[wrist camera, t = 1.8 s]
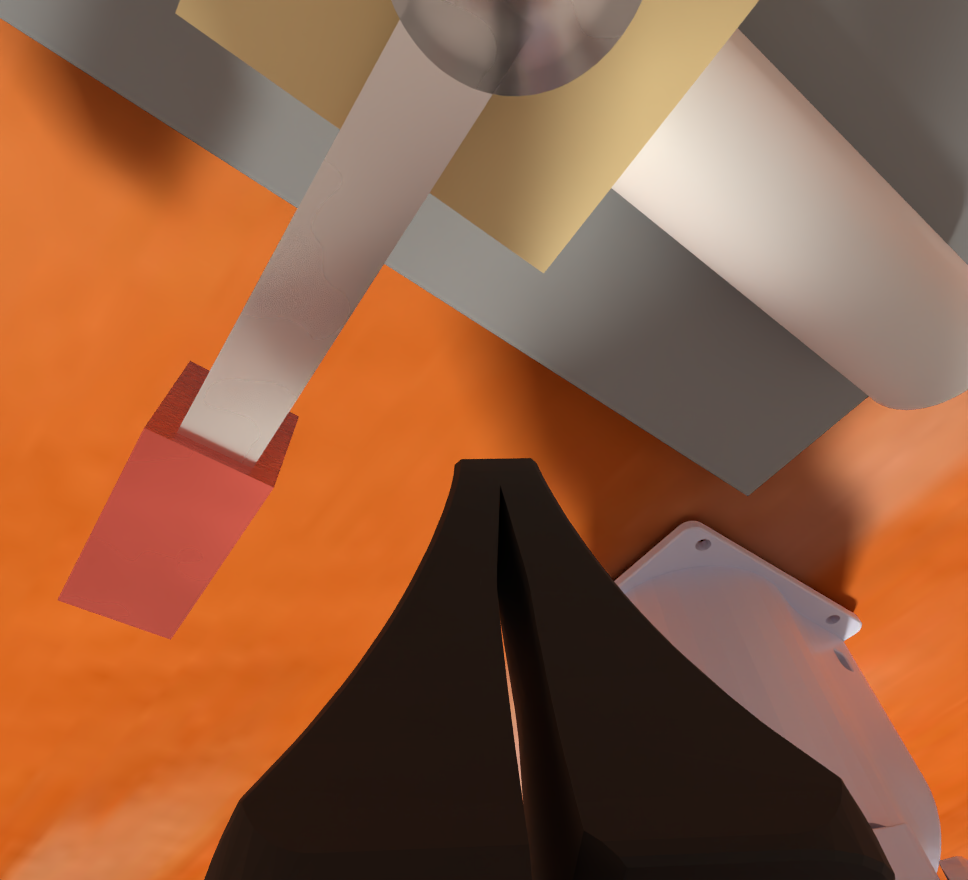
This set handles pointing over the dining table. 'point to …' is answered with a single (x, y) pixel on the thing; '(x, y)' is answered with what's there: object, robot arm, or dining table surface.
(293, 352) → the valve lever
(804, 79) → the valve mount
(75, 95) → the dining table surface
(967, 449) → the dining table surface
